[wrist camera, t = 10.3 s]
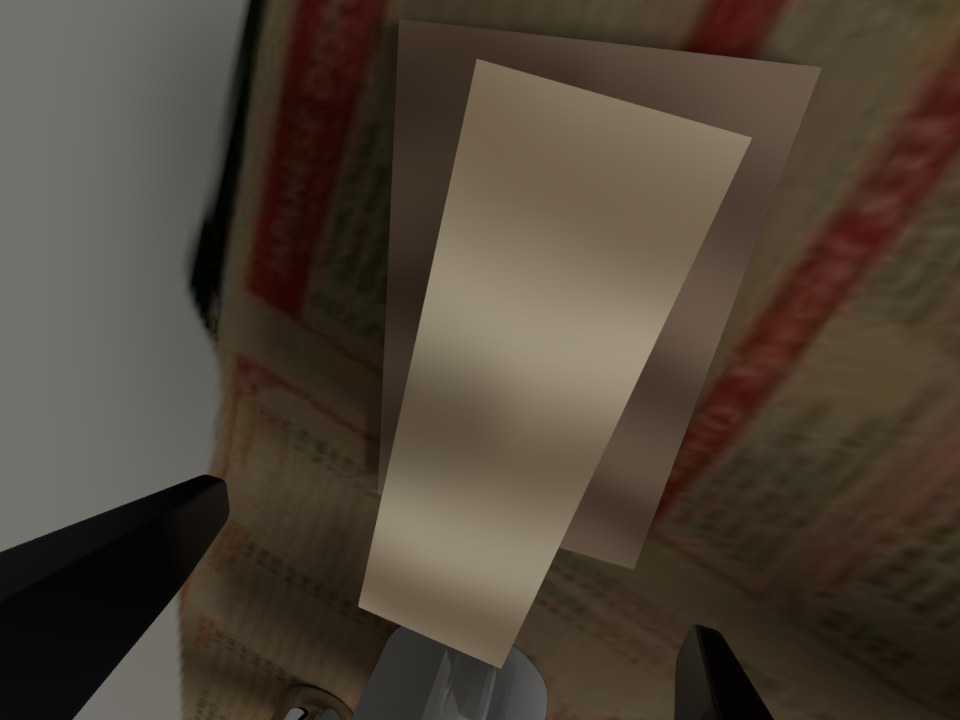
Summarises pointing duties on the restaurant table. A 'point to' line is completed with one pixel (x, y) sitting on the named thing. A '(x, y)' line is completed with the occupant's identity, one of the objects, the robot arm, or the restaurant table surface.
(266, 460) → the restaurant table surface
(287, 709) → the beer glass
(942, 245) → the restaurant table surface
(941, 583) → the restaurant table surface
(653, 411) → the peg holder
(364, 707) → the coffee mug
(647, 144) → the pine board
